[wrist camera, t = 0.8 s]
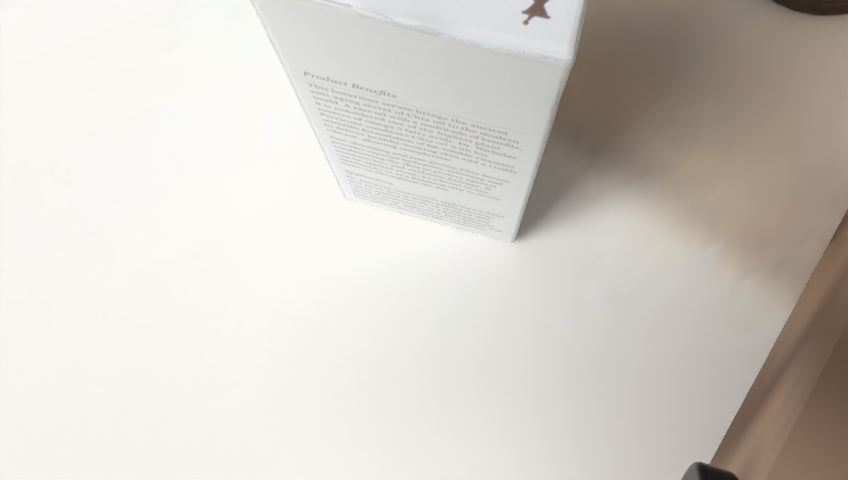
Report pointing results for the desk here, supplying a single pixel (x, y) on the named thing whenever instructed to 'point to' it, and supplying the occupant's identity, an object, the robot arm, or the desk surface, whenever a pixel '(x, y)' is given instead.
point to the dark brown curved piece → (817, 6)
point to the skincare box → (431, 98)
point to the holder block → (800, 388)
